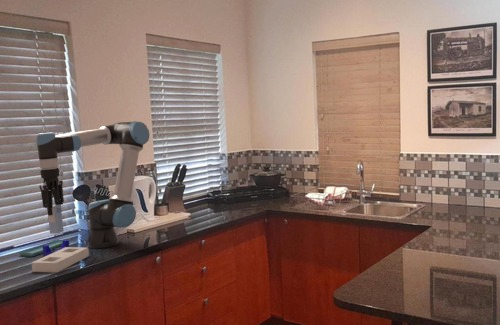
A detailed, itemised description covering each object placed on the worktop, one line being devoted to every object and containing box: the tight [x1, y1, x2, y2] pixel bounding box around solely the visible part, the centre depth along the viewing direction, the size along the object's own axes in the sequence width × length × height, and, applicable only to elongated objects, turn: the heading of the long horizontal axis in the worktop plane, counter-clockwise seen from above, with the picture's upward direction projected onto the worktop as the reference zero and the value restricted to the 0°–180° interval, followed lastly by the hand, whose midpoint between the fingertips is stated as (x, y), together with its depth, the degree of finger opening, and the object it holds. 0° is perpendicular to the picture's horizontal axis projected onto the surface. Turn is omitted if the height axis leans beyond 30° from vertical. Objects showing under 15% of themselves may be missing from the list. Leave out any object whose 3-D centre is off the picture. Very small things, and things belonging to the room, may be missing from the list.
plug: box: [47, 204, 64, 235], centre depth 214 cm, size 4×5×12 cm
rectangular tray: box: [18, 239, 71, 258], centre depth 249 cm, size 26×9×2 cm, turn 159°
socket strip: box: [31, 246, 90, 274], centre depth 218 cm, size 24×12×5 cm, turn 166°
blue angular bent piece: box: [42, 239, 70, 257], centre depth 237 cm, size 12×4×6 cm, turn 142°
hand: (55, 220), depth 214 cm, fingers closed on plug, 4 cm apart
